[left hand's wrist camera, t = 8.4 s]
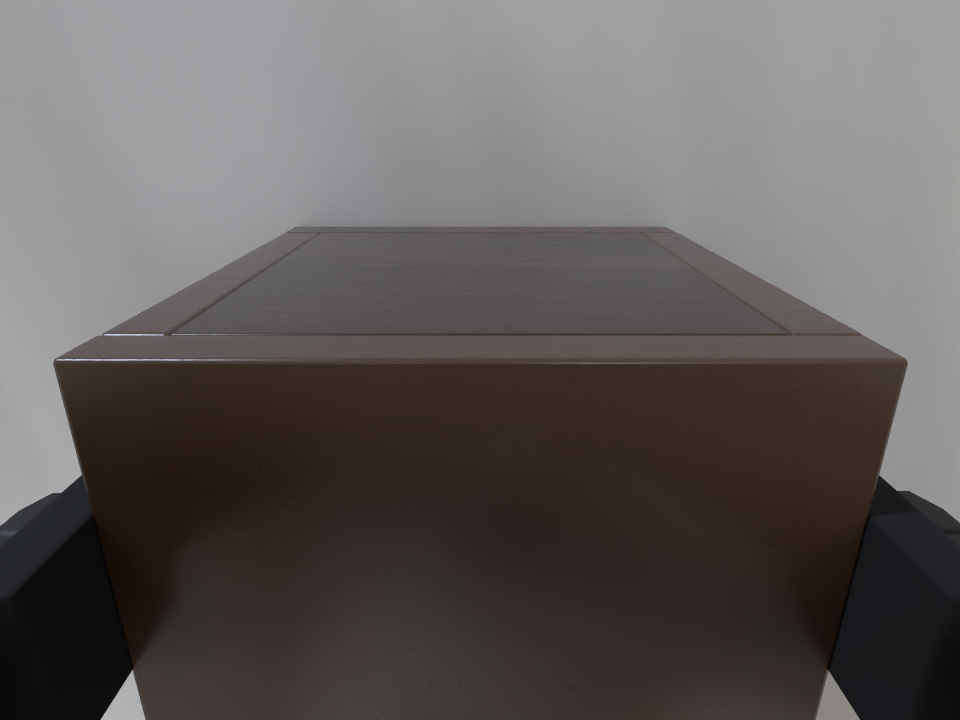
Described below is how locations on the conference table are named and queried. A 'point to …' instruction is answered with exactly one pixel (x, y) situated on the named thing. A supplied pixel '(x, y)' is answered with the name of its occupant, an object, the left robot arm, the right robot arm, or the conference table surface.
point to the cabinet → (480, 480)
